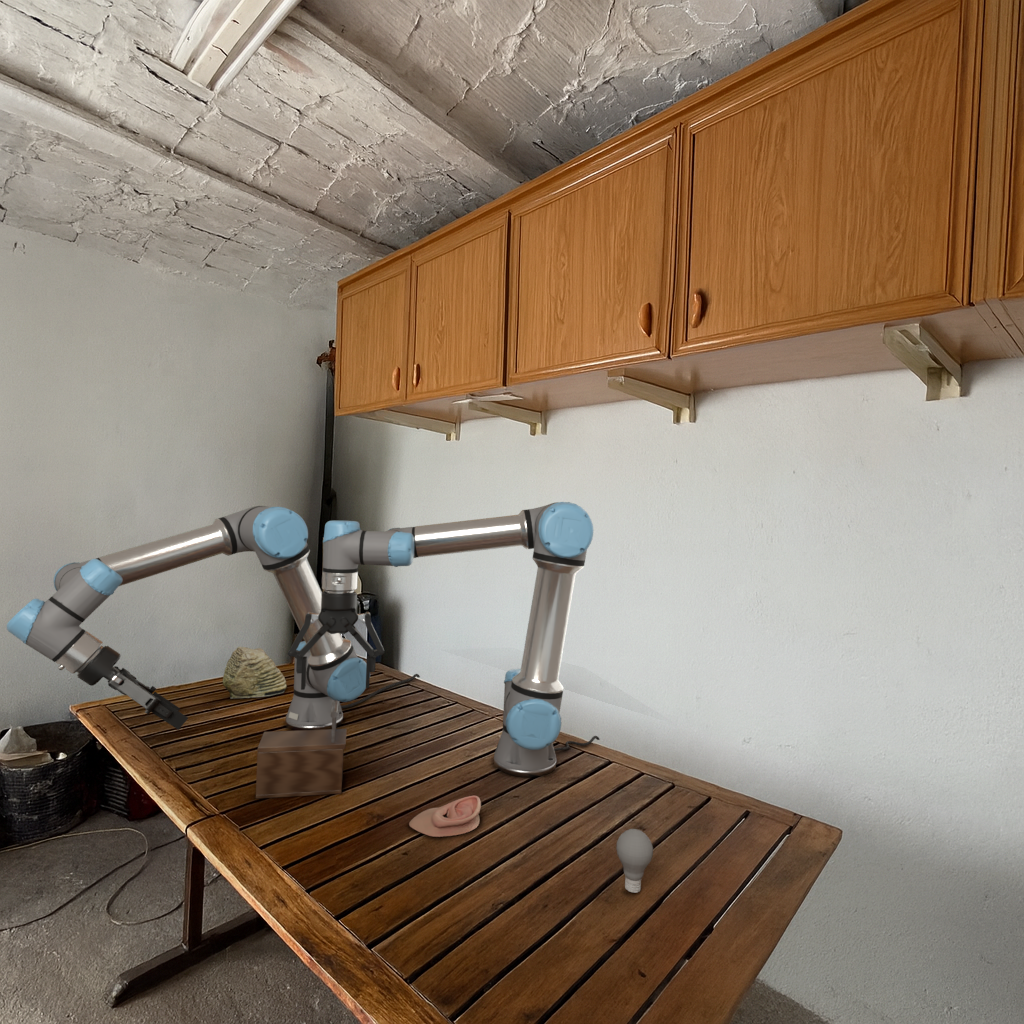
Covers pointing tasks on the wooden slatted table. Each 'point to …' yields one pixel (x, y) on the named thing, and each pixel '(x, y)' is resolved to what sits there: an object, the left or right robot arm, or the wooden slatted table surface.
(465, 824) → the anatomical model
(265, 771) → the chest
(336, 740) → the lid
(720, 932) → the wooden slatted table surface
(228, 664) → the fossil
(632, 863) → the light bulb
